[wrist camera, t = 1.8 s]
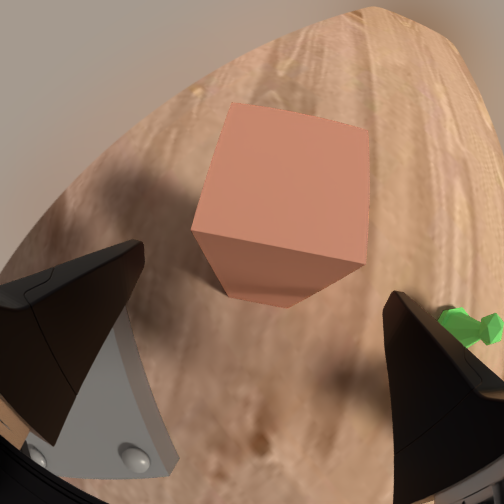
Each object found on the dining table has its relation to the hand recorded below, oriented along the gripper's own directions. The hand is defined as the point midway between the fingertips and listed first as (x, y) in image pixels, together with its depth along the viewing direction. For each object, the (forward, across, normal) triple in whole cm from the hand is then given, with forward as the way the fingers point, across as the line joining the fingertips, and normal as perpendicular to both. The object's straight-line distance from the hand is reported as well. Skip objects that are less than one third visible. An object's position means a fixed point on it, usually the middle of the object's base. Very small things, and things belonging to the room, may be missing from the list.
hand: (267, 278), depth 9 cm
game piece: (+7, -16, +7) cm, 19 cm away
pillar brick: (+8, 0, +5) cm, 10 cm away
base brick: (0, +12, +14) cm, 18 cm away
